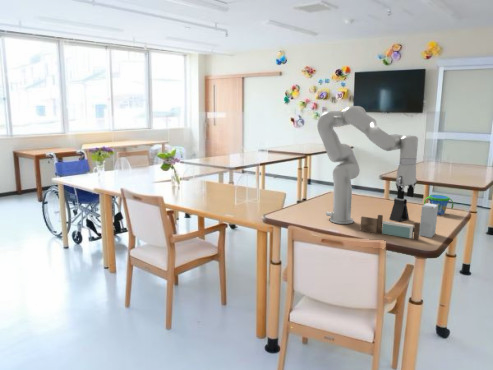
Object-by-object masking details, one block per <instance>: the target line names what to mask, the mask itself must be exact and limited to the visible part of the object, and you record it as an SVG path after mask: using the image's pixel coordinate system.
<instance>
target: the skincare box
mask: <svg viewBox="0 0 493 370" xmlns="http://www.w3.org/2000/svg"><path fill="white" fill-rule="evenodd" d="M437 212H438V205H436V204H430V202H425V204H424V203H423V205H422V206H421V215H420V221H419V223H420V231H419V237H420V236H421V237H425V238H430V239H431V238H433V236H435V234H436V229H437V221H438V220H437V218H438V215H437Z"/></svg>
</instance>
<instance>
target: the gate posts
mask: <svg viewBox="0 0 493 370" xmlns="http://www.w3.org/2000/svg"><path fill="white" fill-rule="evenodd" d="M383 218H384V217H383V215H382V214H378V215H377V218H375V217H368V216H361V217H360V231H361V232H368V233H375V234H377V233H378V234H379V235H382V234H383V233H382V227H383V224H382V221H384V220H383ZM419 231H420V222H418V221H417V222H416V221H415V222H414V228H413V238H412V239H414V240H413V241H419V240H420V235H419ZM381 233H382V234H381ZM418 239H419V240H418Z"/></svg>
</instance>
